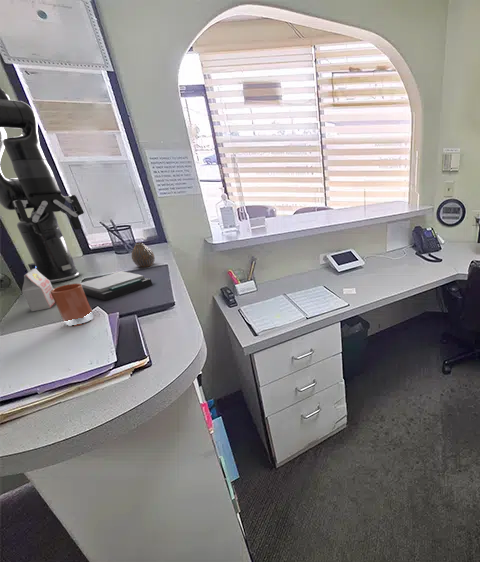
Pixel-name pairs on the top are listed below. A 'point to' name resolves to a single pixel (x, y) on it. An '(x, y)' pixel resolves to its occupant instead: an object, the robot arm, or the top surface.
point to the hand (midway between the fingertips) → (60, 232)
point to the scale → (114, 285)
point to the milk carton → (37, 291)
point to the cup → (71, 301)
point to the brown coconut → (142, 255)
